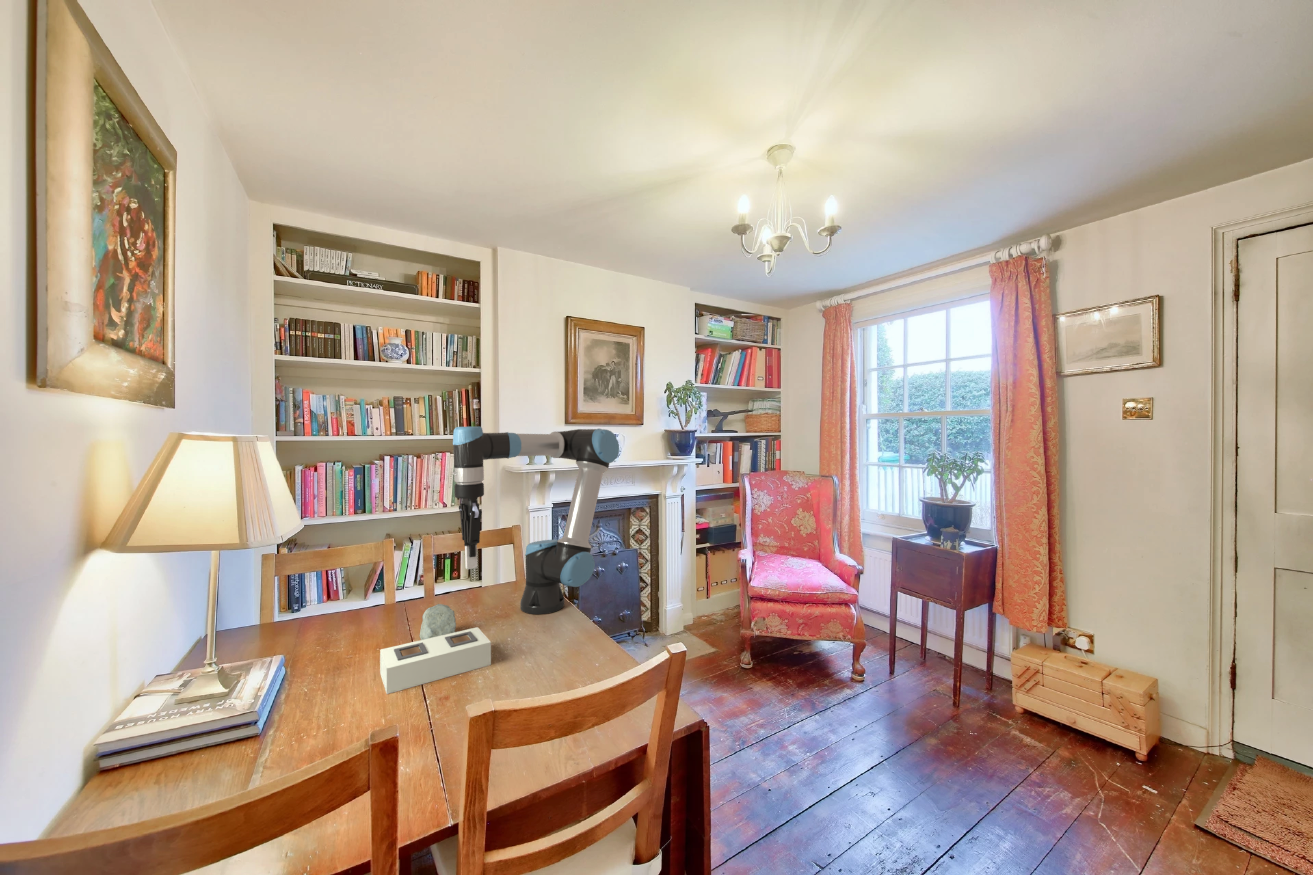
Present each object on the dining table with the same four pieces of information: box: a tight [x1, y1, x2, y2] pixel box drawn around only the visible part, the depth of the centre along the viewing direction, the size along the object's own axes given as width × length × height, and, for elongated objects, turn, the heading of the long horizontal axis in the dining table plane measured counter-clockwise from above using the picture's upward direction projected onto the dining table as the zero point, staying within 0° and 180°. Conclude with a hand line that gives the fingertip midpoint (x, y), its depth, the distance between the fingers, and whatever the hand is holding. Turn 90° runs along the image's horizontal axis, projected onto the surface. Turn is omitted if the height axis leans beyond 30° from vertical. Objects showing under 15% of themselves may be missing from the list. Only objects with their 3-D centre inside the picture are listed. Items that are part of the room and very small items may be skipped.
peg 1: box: [401, 647, 421, 656], centre depth 118 cm, size 4×4×6 cm
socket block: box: [379, 626, 492, 695], centre depth 122 cm, size 24×12×6 cm, turn 127°
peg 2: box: [451, 635, 470, 644], centre depth 126 cm, size 4×4×6 cm
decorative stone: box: [419, 603, 457, 640], centre depth 139 cm, size 13×11×10 cm
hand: (471, 567), depth 130 cm, fingers closed
